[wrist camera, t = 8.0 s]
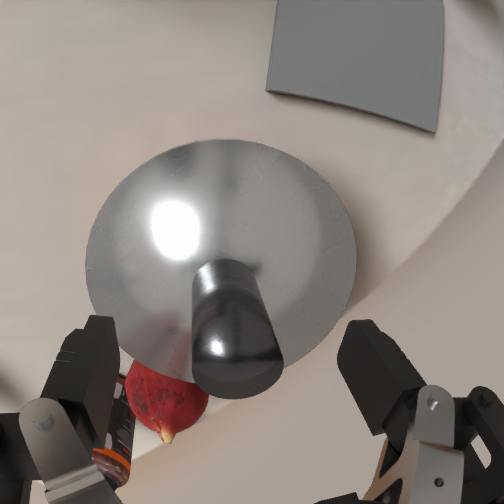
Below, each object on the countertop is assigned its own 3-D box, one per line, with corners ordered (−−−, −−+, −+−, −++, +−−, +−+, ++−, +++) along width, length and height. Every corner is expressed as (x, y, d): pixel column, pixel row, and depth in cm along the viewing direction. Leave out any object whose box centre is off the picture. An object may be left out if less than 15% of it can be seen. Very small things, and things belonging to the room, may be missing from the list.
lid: (88, 133, 11) (9, 150, 5) (371, 160, 13) (463, 193, 8) (108, 366, 16) (89, 452, 10) (316, 368, 18) (351, 445, 12)
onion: (118, 348, 22) (99, 431, 14) (170, 311, 21) (163, 400, 14) (169, 388, 24) (167, 467, 17) (221, 358, 23) (232, 442, 16)
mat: (286, -63, 11) (290, -69, 11) (434, -5, 14) (442, -8, 13) (265, 90, 16) (269, 89, 15) (426, 131, 18) (435, 132, 18)
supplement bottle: (103, 356, 22) (75, 479, 12) (152, 397, 24) (147, 511, 14) (64, 379, 22) (33, 484, 12) (110, 415, 25) (96, 515, 15)
